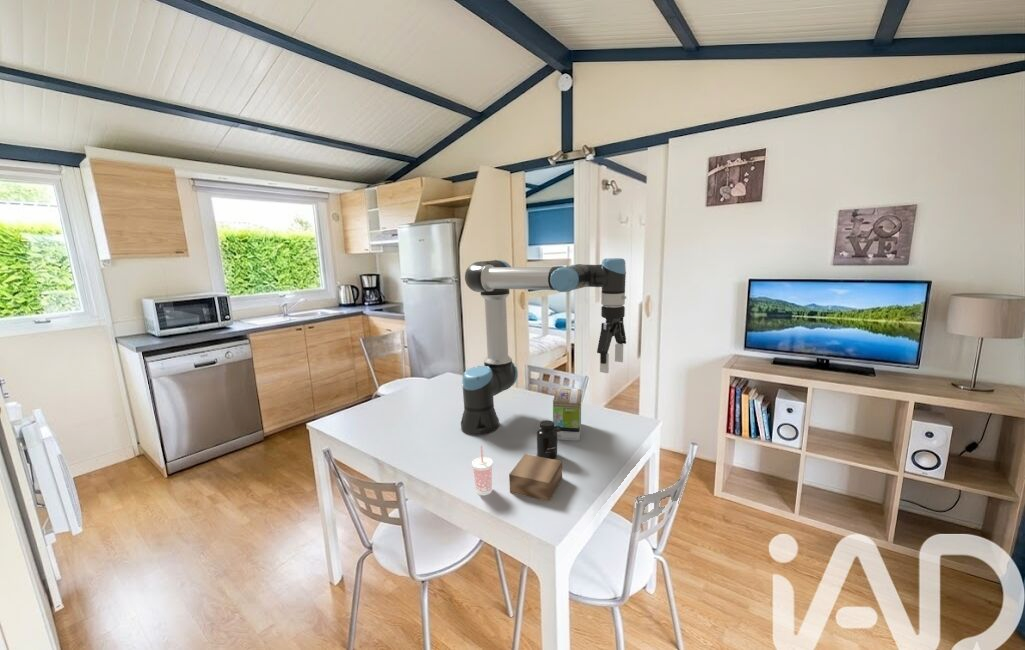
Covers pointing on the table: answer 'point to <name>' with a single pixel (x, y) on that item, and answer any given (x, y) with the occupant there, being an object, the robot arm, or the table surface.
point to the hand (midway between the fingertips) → (611, 366)
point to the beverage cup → (483, 474)
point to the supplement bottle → (547, 440)
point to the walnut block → (536, 477)
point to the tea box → (567, 413)
